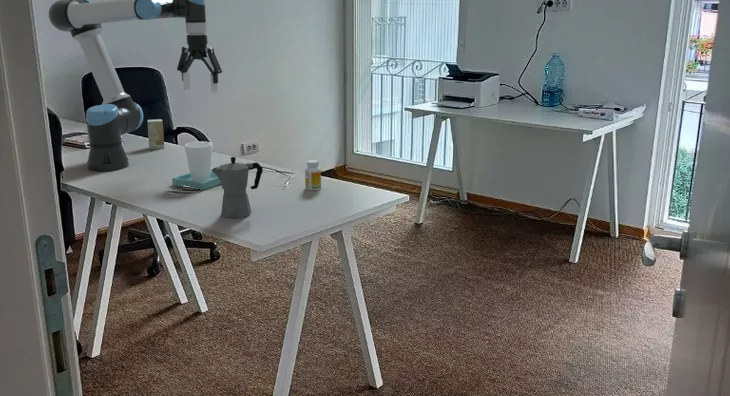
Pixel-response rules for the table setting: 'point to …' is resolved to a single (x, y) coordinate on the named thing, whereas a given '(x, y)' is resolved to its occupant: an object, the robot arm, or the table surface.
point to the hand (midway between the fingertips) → (200, 90)
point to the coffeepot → (236, 187)
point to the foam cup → (199, 160)
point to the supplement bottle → (313, 175)
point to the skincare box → (155, 134)
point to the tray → (188, 181)
